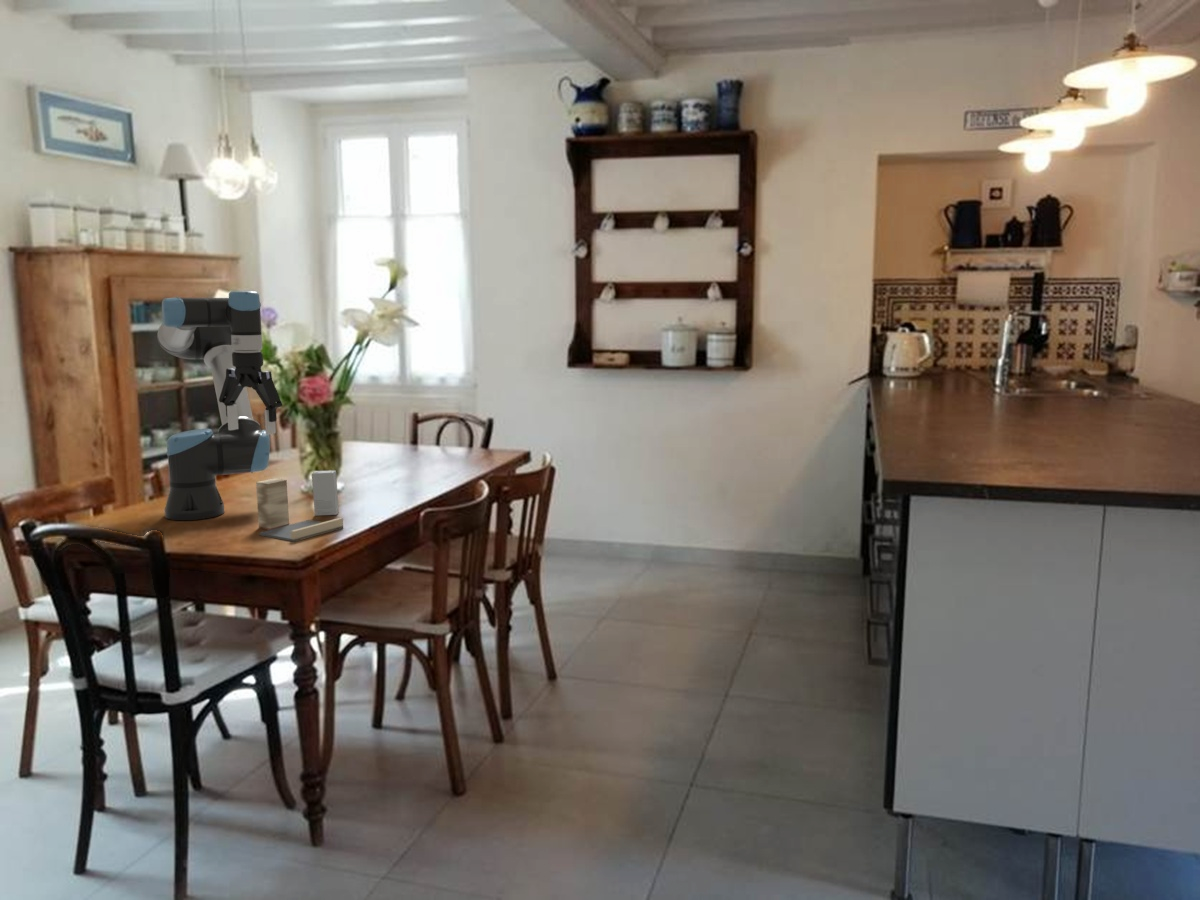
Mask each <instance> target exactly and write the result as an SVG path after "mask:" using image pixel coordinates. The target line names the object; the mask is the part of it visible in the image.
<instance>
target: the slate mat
mask: <svg viewBox="0 0 1200 900" xmlns="http://www.w3.org/2000/svg"><path fill="white" fill-rule="evenodd" d="M342 529H344V519H343V518H341V517H338V518H334V519H330V520H325V521H317V520H312V519H311V520H310V519H308V520H303V521H299V522H296V523H292V524H289V525H287V526H283V527H279V528H275V529H271V530H265V531H261V532H258V535H259V536H263V537H267V538H273V539H278V540H282V541H289V542H292V543H293V542H299V541H302V540H303V541H304V540H306V539H309V538H313V537H316V536H319V535H324V534H327V533H331V532H335V531H338V530H342Z"/></svg>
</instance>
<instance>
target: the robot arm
mask: <svg viewBox="0 0 1200 900" xmlns="http://www.w3.org/2000/svg"><path fill="white" fill-rule="evenodd" d="M260 300H261V299H260V294H259V293H258V292H257V291H254V290H253V291H252V290H236V291H235V290H232V291H230V292H229V293H228V297H179V296H178V297H177V296H175V297H166V298H164V299H163V300H162V301H161V315H162V322H163V323H161V324H160V325H159V328H158V330H157V334H156V337H157V342H158V344H159V346H160V347H161V348H162V349H163V350H164V351H165V352H167V353H168V354H170V355H172V356H174V357H177V358H180V359H185V360H203V363H204V364H205V366H206V367H208V369H210V371H211V375H212V380H213V385H214V389H215V394H216V399H217V400H216V401H217V405H218V412H219V416H220V422H221V425H220V427H219V428H218V429H217V430H218V431H217V433H214V432H213V430H212V428H197V429H191V430H185V431H181V432H178V433H175V434H172V435H171V436H169V437H168V438H167V440H166V456H167V465H168V477H169V478H168V480H169V491H168V492H169V493H168V496H167V500H166V503H165V507H164V517H165V519H168V520H173V521H195V520H203V519H204V520H206V519H210V518H214V517H218V516H221V515H223V514H225V503H224V502H223V498H222V497H221V494H220V491H219V489H218V488H217V483H216V482H217V481H216V480H217V479H216V476H223V475H235V474H246V473H251V474H253V473H256V472H262V471H265V470H267V468H268V466H269V461H270V452H271V451H270V450H271V449H270V447H271V445H270V443H271V441H270V435H274V434H276V431H277V430H276V429H277V428H276V422H277V419H278V418H277V409H279V408H282V407H283V402H282V400H281V398H280V395H279V393H278V390H277V388H276V385H275V383H274V381H273V375H272V371H270V370H263V371H262V367H263V366H264V353H263V352H262V350H263V349H264V347H263V335H262V319H261V318H262V316H261V306H262V304H261V301H260ZM247 388H249V389H250V388H252V390H254V391H255V392H256V394H257V395H258V397H259V399H260V400H261V402H262V403H263V405H264V406H265V408H264V425H265V429H262V428H261V424H260V422H258V421H256V420H255V419H254V417H253V412H252V407H251V403H250V398H249V393H248V389H247Z"/></svg>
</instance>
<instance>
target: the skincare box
mask: <svg viewBox="0 0 1200 900" xmlns="http://www.w3.org/2000/svg"><path fill="white" fill-rule="evenodd" d="M337 482H338V479H337V471H336V470H314V471H313V472H312V473H311V484H312V495H313V497H312V498H313V507H314V508H313V509H314V516H336V515H338V514H339V513H340V509H339V506H340V505H339V491H338V483H337Z"/></svg>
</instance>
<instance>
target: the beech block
mask: <svg viewBox="0 0 1200 900" xmlns="http://www.w3.org/2000/svg"><path fill="white" fill-rule="evenodd" d="M287 484H288V482H287V479H282V478H270V479H265V480H260V481H256V484H255V485H256V500H257V503H256V504H257V515H258V528H259V529H263V530H266V531H268V530H271V529H275V528H279V527H283V526H287V525H290V518H289V502H288V501H289V500H288V497H289V496H288V485H287Z"/></svg>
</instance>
